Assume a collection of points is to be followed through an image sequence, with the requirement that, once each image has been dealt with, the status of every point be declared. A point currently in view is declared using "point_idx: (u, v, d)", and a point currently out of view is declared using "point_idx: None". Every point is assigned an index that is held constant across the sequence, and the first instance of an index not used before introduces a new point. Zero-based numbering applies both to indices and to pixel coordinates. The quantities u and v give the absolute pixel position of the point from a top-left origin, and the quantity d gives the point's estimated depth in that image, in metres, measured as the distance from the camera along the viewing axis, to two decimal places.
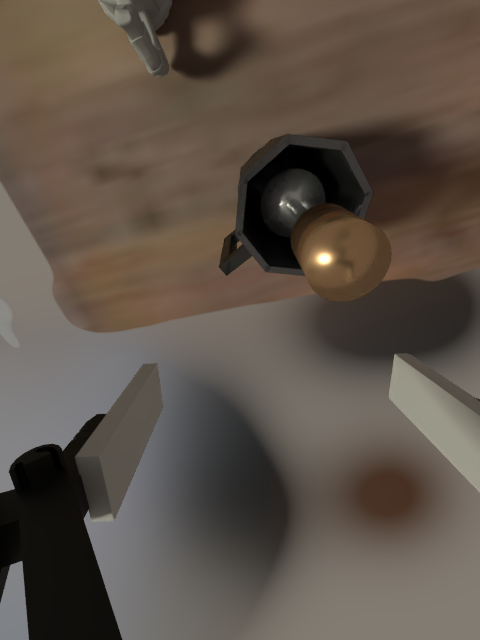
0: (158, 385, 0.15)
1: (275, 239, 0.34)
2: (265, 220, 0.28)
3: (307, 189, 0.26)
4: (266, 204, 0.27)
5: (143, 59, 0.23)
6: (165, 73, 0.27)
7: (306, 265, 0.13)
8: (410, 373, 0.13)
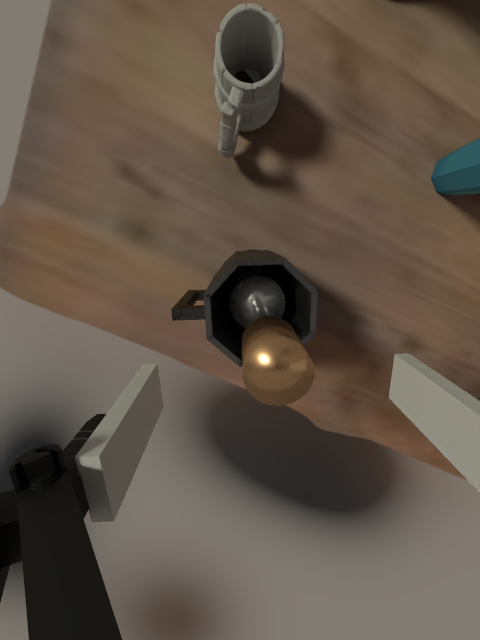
0: (158, 385, 0.15)
1: (227, 319, 0.37)
2: (231, 300, 0.31)
3: (274, 301, 0.31)
4: (239, 290, 0.31)
5: (220, 138, 0.28)
6: (227, 157, 0.32)
7: (250, 355, 0.15)
8: (410, 373, 0.13)
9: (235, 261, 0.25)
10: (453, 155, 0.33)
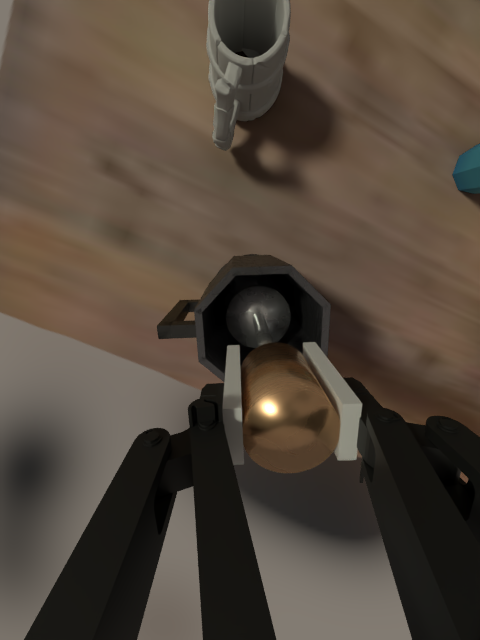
0: None
1: (224, 332, 0.33)
2: (227, 313, 0.27)
3: (277, 314, 0.27)
4: (237, 301, 0.26)
5: (215, 125, 0.24)
6: (224, 149, 0.28)
7: (251, 408, 0.11)
8: (309, 358, 0.15)
9: (232, 270, 0.21)
10: None
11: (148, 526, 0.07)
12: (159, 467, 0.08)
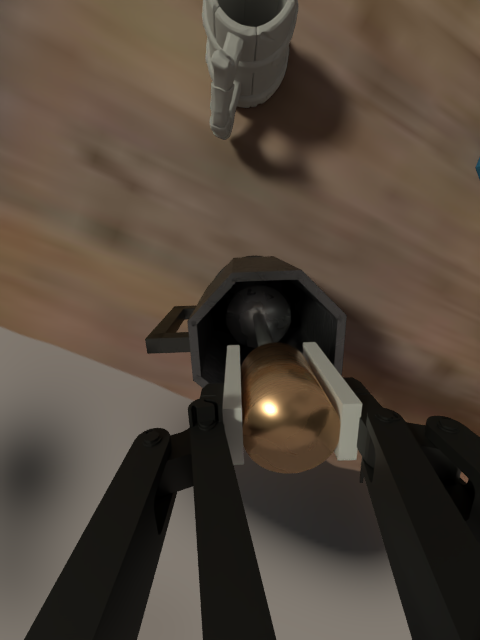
0: None
1: (223, 342, 0.30)
2: (228, 313, 0.27)
3: (277, 314, 0.27)
4: (237, 301, 0.26)
5: (212, 109, 0.21)
6: (222, 137, 0.25)
7: (251, 408, 0.11)
8: (309, 358, 0.15)
9: (232, 275, 0.18)
10: None
11: (148, 526, 0.07)
12: (159, 467, 0.08)
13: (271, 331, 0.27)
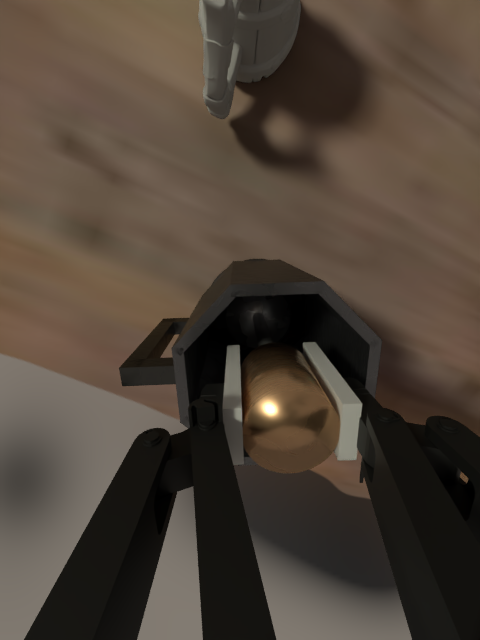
0: None
1: (221, 361, 0.25)
2: (227, 313, 0.27)
3: (277, 314, 0.27)
4: (237, 301, 0.26)
5: (205, 74, 0.17)
6: (219, 115, 0.21)
7: (251, 408, 0.11)
8: (309, 358, 0.15)
9: (230, 288, 0.13)
10: None
11: (148, 526, 0.07)
12: (159, 467, 0.08)
13: (271, 331, 0.27)
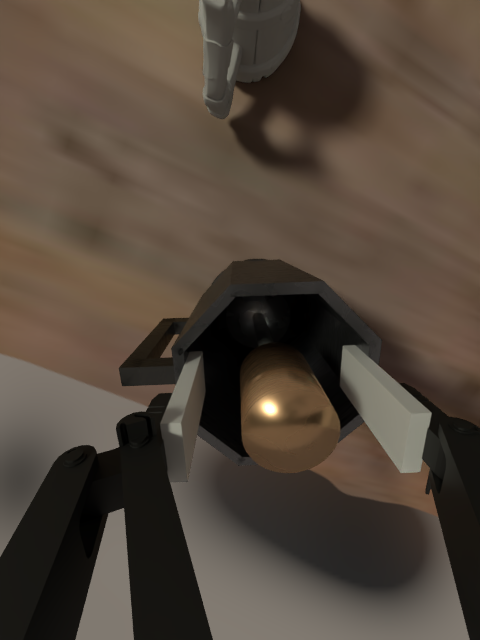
0: (203, 371, 0.16)
1: (220, 361, 0.25)
2: (227, 313, 0.27)
3: (277, 314, 0.27)
4: (237, 301, 0.26)
5: (205, 74, 0.17)
6: (219, 115, 0.21)
7: (251, 408, 0.11)
8: (352, 362, 0.15)
9: (230, 288, 0.13)
10: None
11: (73, 551, 0.07)
12: (84, 486, 0.08)
13: (271, 331, 0.27)
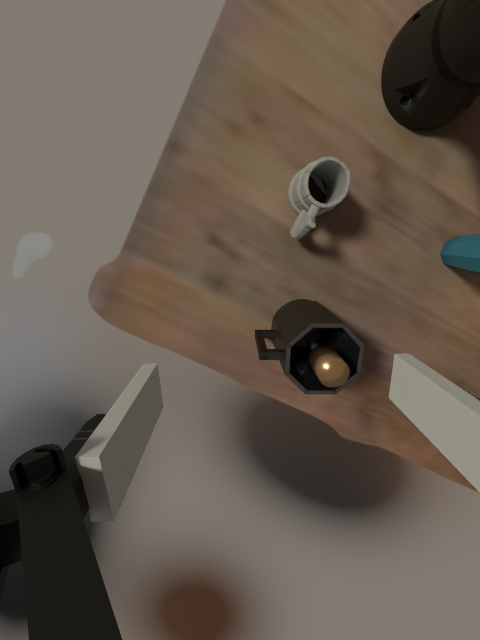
0: (158, 385, 0.15)
1: None
2: None
3: (313, 329, 0.51)
4: None
5: (297, 232, 0.40)
6: None
7: (322, 364, 0.34)
8: (411, 373, 0.13)
9: (311, 324, 0.37)
10: (457, 243, 0.46)
11: None
12: None
13: None
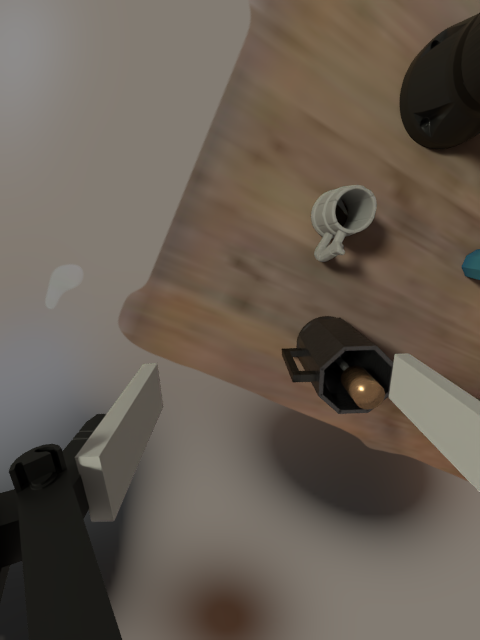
0: (158, 385, 0.15)
1: None
2: None
3: None
4: None
5: (324, 257, 0.42)
6: None
7: (358, 388, 0.36)
8: (410, 373, 0.13)
9: (343, 348, 0.38)
10: None
11: None
12: None
13: None
